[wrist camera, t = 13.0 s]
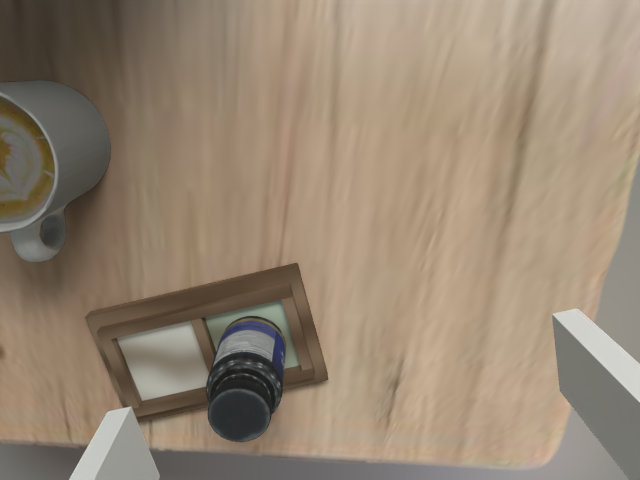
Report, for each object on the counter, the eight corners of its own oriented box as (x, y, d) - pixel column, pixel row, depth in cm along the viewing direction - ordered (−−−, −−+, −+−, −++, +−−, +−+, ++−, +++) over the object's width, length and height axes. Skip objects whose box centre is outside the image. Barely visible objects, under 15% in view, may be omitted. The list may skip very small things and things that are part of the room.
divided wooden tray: (90, 311, 50) (80, 322, 47) (297, 262, 49) (296, 271, 46) (134, 416, 53) (127, 430, 51) (327, 373, 52) (328, 385, 50)
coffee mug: (-16, 73, 43) (-107, 76, 33) (109, 87, 43) (54, 93, 34) (-2, 231, 47) (-80, 273, 37) (112, 241, 48) (64, 285, 38)
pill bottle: (275, 378, 51) (267, 459, 40) (213, 362, 50) (188, 440, 40) (294, 322, 49) (290, 392, 39) (230, 305, 48) (208, 371, 38)
